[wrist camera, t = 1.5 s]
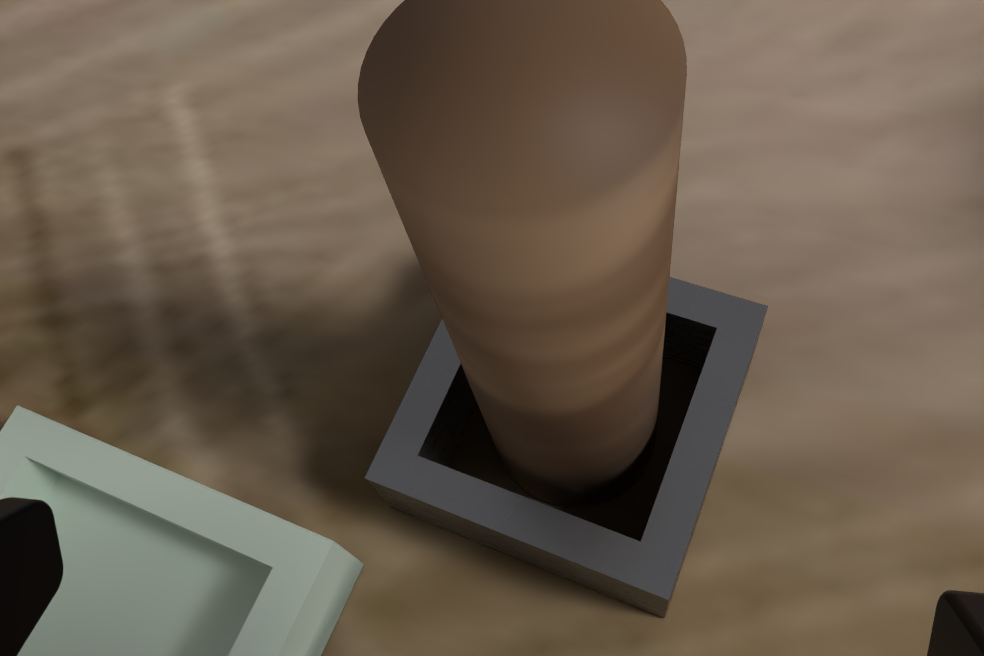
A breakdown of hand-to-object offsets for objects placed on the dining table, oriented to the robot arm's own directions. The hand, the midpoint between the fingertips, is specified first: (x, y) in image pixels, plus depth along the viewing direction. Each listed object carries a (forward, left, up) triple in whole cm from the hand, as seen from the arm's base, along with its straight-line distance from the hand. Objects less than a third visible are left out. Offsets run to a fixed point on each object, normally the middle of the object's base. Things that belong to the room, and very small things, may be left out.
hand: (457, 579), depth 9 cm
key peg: (+6, +2, -12) cm, 14 cm away
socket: (+6, +2, -12) cm, 14 cm away
